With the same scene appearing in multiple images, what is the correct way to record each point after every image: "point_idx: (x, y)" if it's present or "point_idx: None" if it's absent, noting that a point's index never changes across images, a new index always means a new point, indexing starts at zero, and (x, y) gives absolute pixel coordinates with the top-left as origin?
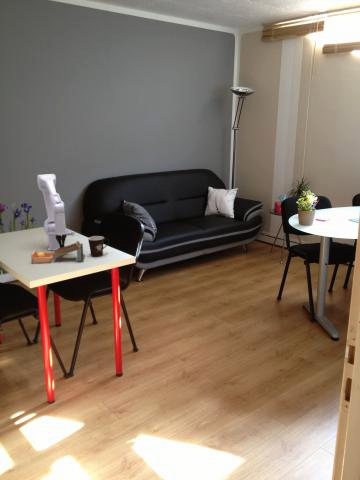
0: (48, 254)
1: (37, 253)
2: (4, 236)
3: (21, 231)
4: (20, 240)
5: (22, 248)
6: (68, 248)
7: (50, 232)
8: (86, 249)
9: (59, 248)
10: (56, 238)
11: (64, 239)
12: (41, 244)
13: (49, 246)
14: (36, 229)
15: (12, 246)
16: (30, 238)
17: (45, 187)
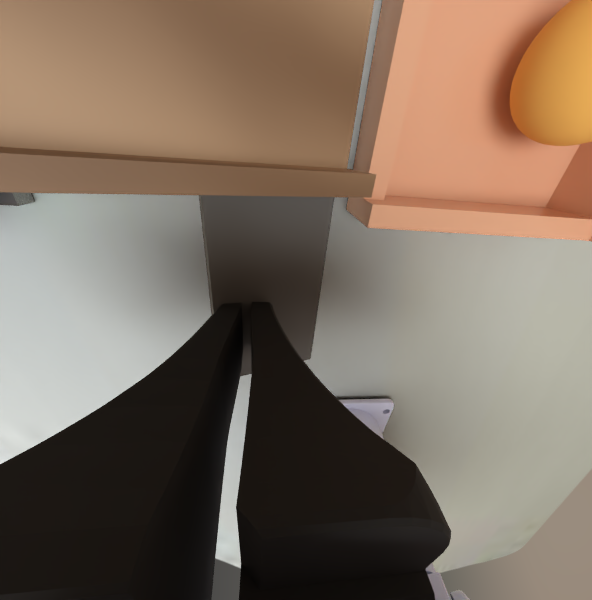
0: (432, 204)
1: (584, 217)
2: (530, 538)
3: (455, 567)
4: (491, 514)
5: (530, 437)
6: (26, 145)
7: None
8: (58, 400)
9: (289, 332)
10: (399, 475)
11: (57, 438)
12: None
13: (382, 437)
14: None
15: (562, 462)
16: None
17: None
